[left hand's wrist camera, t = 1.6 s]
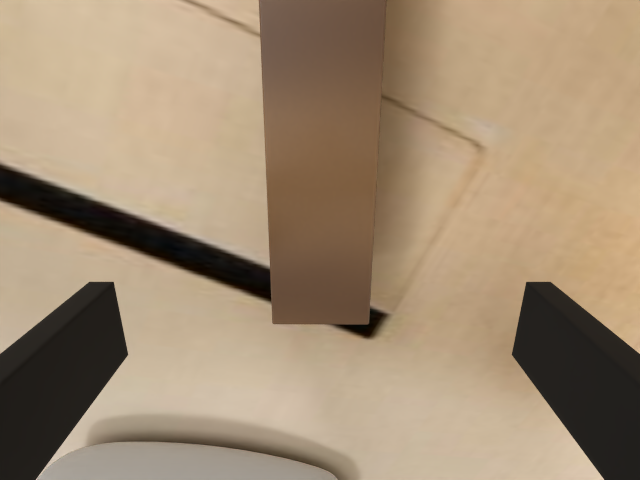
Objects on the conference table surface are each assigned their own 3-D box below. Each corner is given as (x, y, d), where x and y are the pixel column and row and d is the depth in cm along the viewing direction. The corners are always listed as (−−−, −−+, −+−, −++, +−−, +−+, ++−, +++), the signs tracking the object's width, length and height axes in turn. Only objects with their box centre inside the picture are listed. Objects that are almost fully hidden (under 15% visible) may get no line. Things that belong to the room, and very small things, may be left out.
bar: (354, 260, 27) (369, 325, 19) (285, 260, 27) (272, 324, 19) (373, -235, 18) (412, -466, 11) (271, -236, 18) (238, -468, 11)
